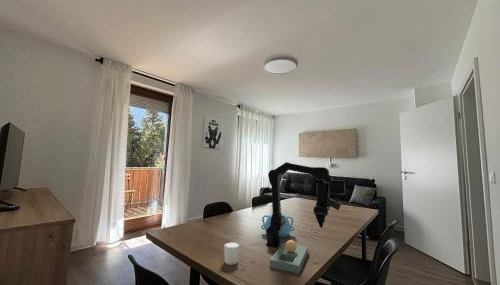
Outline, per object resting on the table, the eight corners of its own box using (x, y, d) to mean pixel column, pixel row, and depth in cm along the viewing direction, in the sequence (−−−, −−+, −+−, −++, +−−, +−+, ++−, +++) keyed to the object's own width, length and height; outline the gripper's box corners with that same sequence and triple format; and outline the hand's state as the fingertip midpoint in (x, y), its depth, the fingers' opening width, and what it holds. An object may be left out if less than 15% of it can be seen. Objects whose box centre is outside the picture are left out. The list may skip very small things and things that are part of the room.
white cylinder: (239, 258, 96) (239, 242, 96) (239, 265, 89) (239, 247, 90) (224, 258, 95) (224, 241, 96) (222, 265, 89) (223, 247, 89)
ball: (284, 252, 96) (284, 241, 96) (286, 248, 100) (287, 237, 101) (295, 255, 93) (295, 243, 94) (297, 251, 98) (297, 239, 99)
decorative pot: (279, 229, 141) (279, 208, 143) (296, 236, 128) (296, 213, 129) (259, 233, 132) (259, 210, 134) (275, 241, 119) (275, 215, 120)
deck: (269, 267, 88) (269, 259, 88) (283, 248, 108) (283, 242, 108) (298, 273, 83) (298, 265, 83) (307, 253, 103) (308, 246, 103)
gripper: (339, 196, 94) (339, 233, 92) (340, 192, 111) (340, 223, 109) (313, 194, 98) (313, 228, 97) (318, 190, 115) (317, 219, 114)
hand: (322, 225), depth 104 cm, fingers open, 9 cm apart
